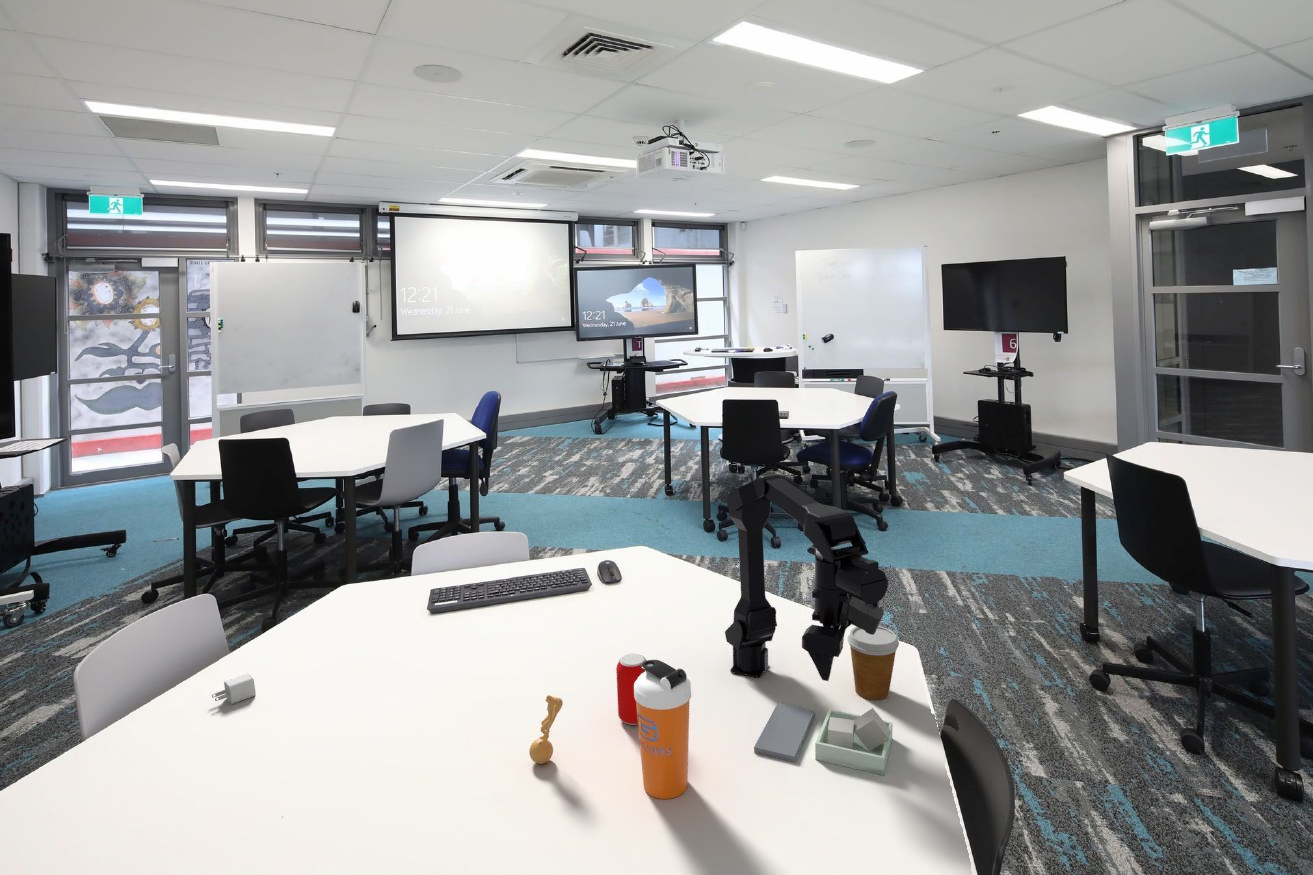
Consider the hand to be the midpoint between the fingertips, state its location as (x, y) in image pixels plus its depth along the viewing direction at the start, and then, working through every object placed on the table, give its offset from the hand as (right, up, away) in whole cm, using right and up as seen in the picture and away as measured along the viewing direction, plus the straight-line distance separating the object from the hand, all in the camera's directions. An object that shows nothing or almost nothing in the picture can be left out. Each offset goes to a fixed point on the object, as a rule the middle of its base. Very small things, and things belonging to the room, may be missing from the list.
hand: (830, 667), depth 124 cm
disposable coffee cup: (+12, -10, +14) cm, 21 cm away
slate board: (-8, -12, +1) cm, 14 cm away
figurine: (-49, -15, -4) cm, 51 cm away
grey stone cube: (+4, -10, -4) cm, 12 cm away
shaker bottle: (-29, -15, -11) cm, 35 cm away
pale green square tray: (+3, -13, -4) cm, 14 cm away
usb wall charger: (-116, -13, +19) cm, 119 cm away
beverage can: (-35, -12, +7) cm, 38 cm away
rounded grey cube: (+1, -12, -4) cm, 13 cm away
